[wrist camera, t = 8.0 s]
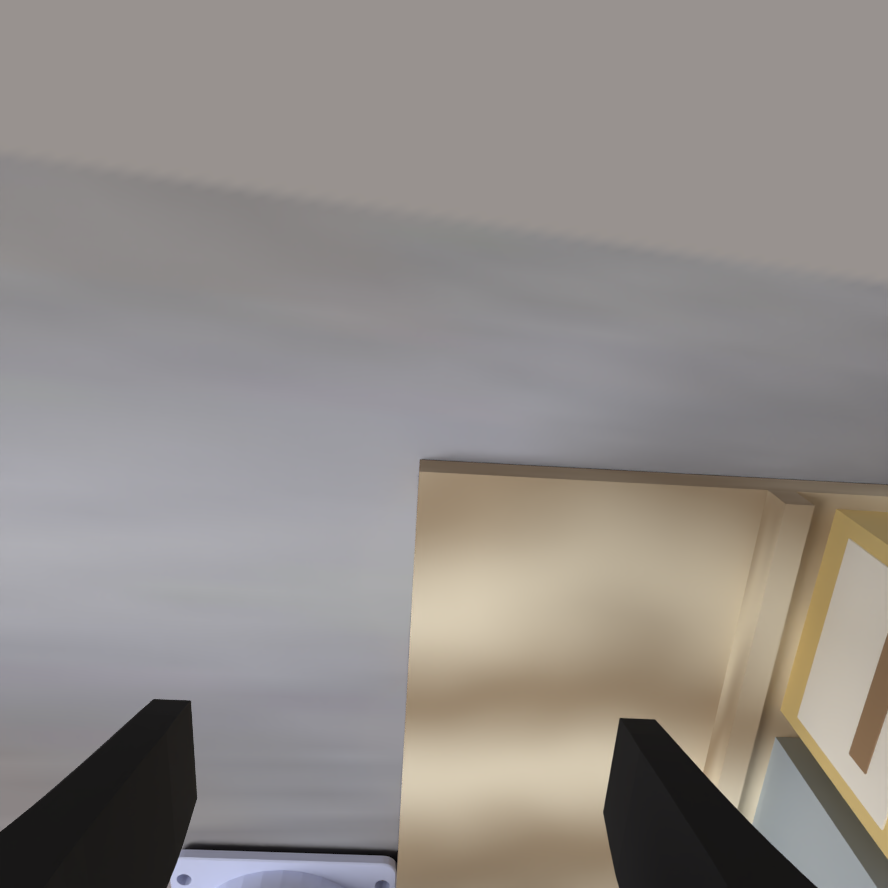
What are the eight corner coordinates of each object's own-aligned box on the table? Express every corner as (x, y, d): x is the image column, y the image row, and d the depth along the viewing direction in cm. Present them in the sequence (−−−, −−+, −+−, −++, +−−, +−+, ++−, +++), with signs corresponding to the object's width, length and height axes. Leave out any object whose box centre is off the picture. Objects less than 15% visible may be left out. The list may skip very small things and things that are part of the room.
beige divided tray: (875, 885, 25) (915, 945, 23) (397, 871, 24) (393, 930, 22) (1014, 491, 20) (1082, 522, 18) (420, 459, 20) (418, 487, 17)
